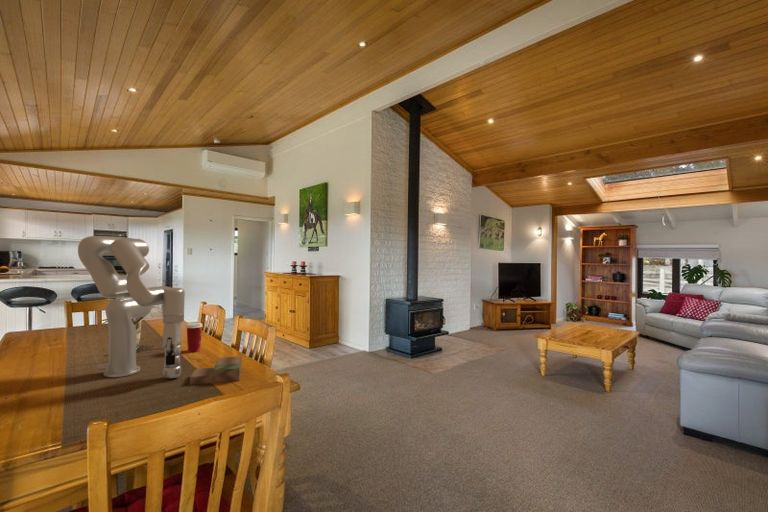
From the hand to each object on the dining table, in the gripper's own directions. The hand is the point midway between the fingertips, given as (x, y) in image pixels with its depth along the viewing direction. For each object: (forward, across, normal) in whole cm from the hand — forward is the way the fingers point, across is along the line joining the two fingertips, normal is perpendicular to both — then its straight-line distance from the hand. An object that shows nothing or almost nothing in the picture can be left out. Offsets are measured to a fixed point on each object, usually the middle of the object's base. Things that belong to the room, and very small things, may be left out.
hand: (172, 361), depth 147 cm
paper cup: (+7, -40, 0) cm, 40 cm away
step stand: (+6, +4, +18) cm, 19 cm away
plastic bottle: (+7, 0, 0) cm, 7 cm away
